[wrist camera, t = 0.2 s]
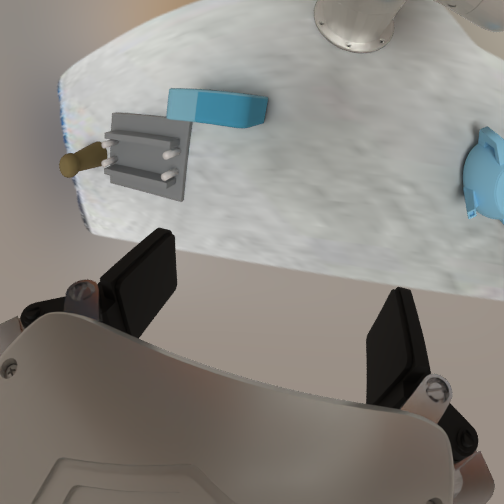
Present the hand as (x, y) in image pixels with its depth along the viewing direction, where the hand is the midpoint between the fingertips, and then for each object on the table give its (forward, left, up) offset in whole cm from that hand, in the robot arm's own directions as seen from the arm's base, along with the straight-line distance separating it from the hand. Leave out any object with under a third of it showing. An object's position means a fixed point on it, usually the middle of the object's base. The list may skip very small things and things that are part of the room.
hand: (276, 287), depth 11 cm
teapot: (-8, +32, -36) cm, 49 cm away
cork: (+10, -46, -36) cm, 60 cm away
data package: (-4, -15, -36) cm, 40 cm away
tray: (+8, -32, -36) cm, 49 cm away
